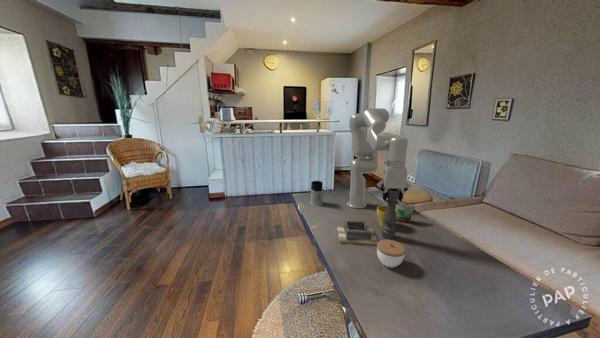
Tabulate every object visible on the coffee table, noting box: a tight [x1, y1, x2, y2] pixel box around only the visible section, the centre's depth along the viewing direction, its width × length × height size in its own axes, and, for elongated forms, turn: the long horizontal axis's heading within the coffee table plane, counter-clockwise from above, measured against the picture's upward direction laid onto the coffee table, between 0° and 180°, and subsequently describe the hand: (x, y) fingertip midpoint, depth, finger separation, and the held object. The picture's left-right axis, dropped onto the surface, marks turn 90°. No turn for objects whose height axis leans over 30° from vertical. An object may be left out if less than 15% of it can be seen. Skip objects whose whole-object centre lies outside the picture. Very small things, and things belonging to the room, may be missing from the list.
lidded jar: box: [376, 239, 406, 269], centre depth 93 cm, size 11×11×9 cm
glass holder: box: [309, 180, 329, 207], centre depth 152 cm, size 9×14×15 cm, turn 43°
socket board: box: [336, 220, 379, 245], centre depth 113 cm, size 13×18×6 cm
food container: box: [396, 203, 416, 224], centre depth 129 cm, size 12×6×10 cm, turn 68°
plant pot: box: [376, 205, 397, 228], centre depth 124 cm, size 10×10×10 cm
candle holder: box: [381, 189, 400, 241], centre depth 111 cm, size 6×6×25 cm
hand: (392, 200), depth 109 cm, fingers open, 6 cm apart
